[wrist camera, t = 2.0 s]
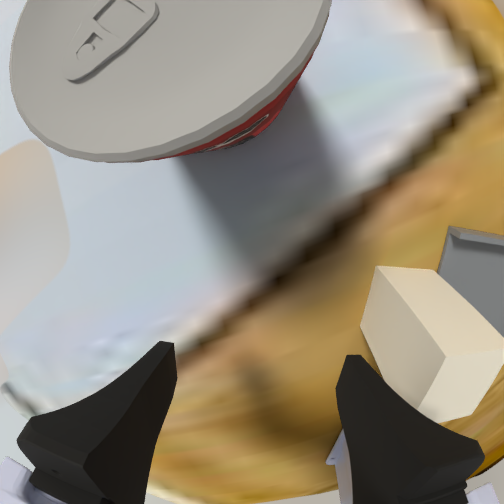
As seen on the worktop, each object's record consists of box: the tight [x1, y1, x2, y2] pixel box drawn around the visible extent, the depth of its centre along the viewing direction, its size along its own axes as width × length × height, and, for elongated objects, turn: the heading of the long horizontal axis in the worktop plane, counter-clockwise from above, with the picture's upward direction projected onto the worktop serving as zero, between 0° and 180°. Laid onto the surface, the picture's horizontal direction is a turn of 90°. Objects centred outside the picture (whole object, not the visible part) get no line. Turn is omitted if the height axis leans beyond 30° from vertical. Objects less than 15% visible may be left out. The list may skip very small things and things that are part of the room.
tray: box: [437, 226, 504, 338], centre depth 17 cm, size 11×12×2 cm
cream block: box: [360, 266, 504, 423], centre depth 14 cm, size 4×4×9 cm
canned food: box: [9, 0, 332, 163], centre depth 9 cm, size 8×8×11 cm
